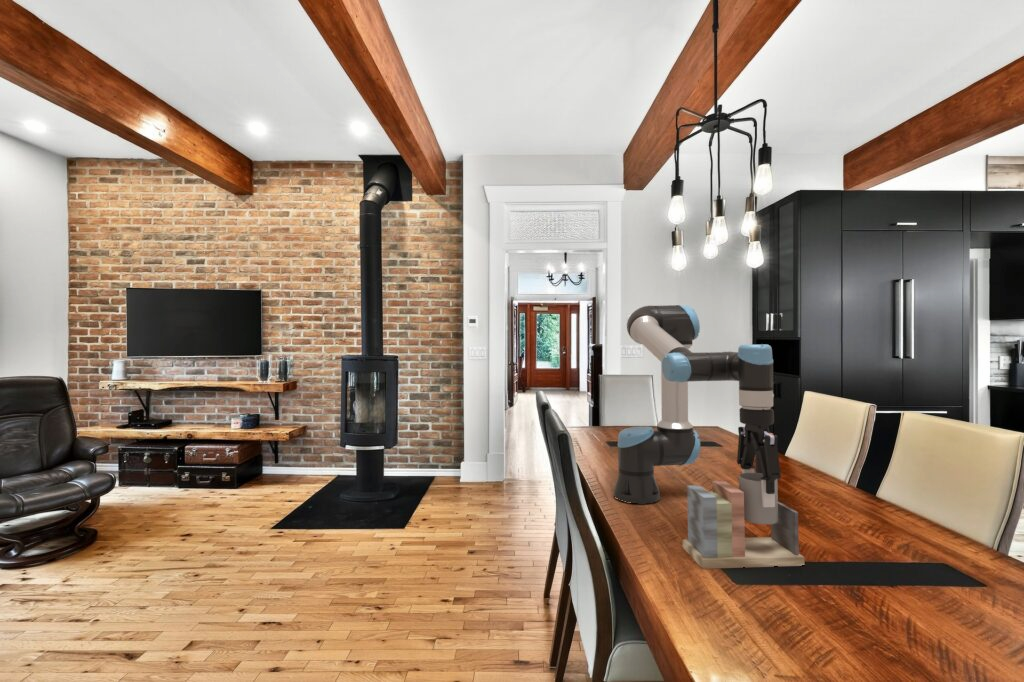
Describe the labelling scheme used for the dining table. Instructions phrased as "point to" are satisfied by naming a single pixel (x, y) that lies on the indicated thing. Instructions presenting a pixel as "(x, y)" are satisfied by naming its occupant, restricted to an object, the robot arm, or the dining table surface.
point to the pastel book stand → (736, 532)
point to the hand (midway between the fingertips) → (758, 500)
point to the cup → (757, 500)
